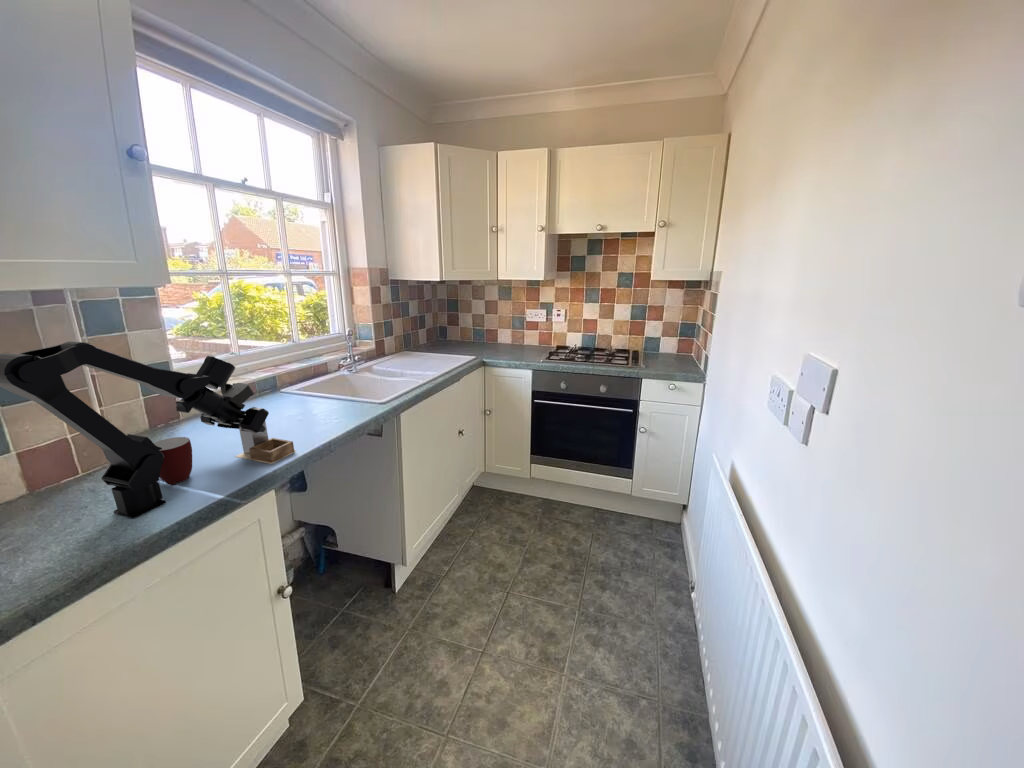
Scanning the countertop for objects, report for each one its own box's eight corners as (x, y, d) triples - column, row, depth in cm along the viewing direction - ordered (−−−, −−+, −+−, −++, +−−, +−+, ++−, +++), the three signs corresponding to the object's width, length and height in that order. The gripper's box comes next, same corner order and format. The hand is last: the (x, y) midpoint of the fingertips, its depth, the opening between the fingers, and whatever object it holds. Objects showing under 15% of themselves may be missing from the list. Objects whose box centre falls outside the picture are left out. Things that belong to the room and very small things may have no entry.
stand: (271, 465, 108) (269, 453, 107) (235, 458, 112) (232, 446, 111) (297, 452, 115) (295, 440, 114) (262, 446, 119) (260, 434, 118)
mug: (146, 481, 100) (136, 443, 97) (185, 467, 107) (176, 432, 104) (165, 493, 95) (154, 454, 92) (204, 478, 101) (196, 441, 98)
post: (256, 455, 112) (249, 417, 109) (243, 452, 114) (236, 415, 111) (270, 448, 116) (263, 412, 113) (258, 446, 118) (251, 410, 115)
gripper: (255, 379, 102) (297, 407, 115) (202, 373, 108) (248, 400, 121) (232, 419, 97) (278, 444, 110) (177, 410, 103) (227, 434, 116)
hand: (258, 429), depth 115 cm, fingers closed on post, 4 cm apart
